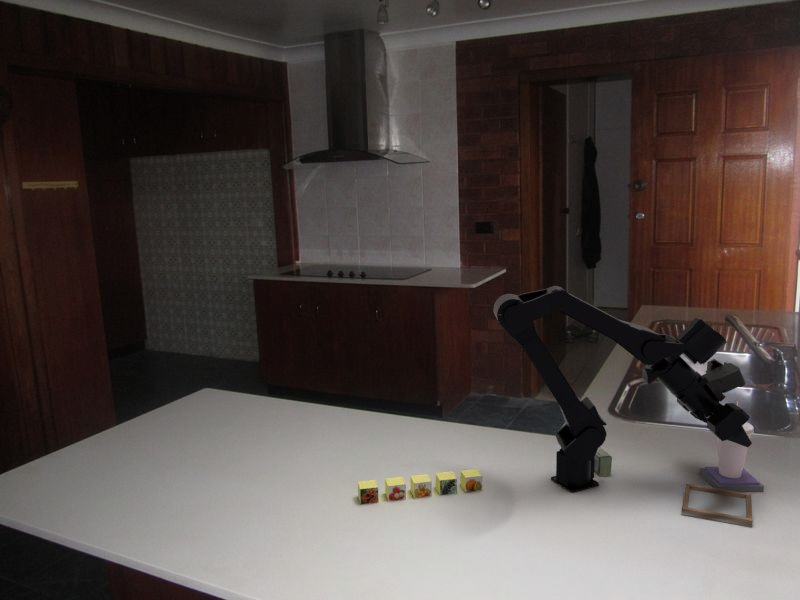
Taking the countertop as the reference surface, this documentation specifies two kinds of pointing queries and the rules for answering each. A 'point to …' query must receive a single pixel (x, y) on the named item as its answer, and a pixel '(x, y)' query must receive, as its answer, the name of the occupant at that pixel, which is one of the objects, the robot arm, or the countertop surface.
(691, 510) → the marked square
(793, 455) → the countertop surface
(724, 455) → the smoothie
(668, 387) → the robot arm
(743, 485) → the ink pad
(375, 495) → the fruit picture blocks
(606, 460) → the medication box
